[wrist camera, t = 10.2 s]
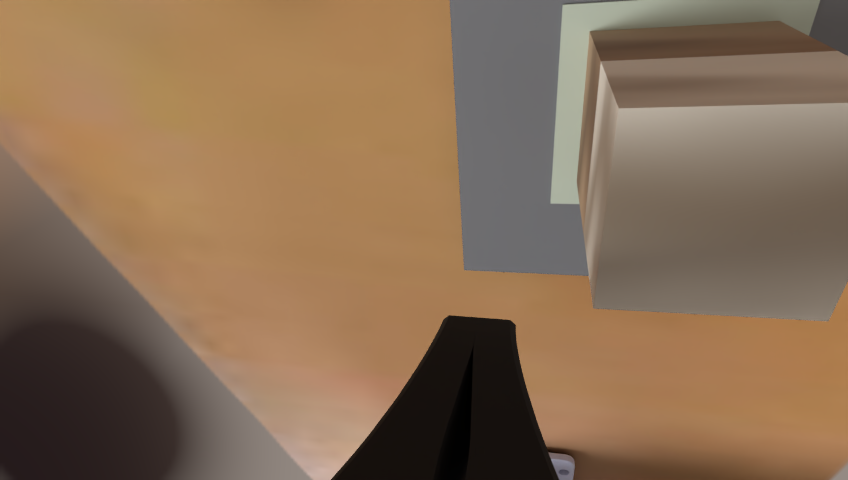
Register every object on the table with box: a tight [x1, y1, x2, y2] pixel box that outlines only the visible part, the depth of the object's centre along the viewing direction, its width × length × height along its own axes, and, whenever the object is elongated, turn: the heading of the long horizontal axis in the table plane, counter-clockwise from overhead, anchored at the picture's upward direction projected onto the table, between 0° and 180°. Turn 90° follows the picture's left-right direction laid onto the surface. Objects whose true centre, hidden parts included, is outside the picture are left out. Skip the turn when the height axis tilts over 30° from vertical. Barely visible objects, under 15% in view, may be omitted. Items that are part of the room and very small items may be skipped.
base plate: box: [450, 0, 848, 276], centre depth 15 cm, size 12×12×1 cm
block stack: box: [577, 21, 848, 321], centre depth 12 cm, size 4×4×6 cm
